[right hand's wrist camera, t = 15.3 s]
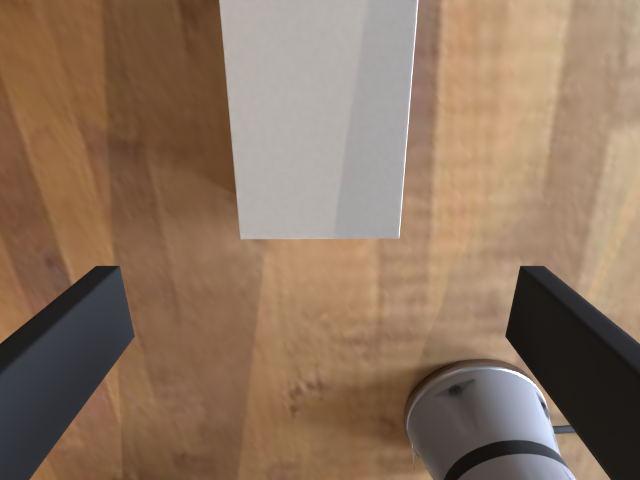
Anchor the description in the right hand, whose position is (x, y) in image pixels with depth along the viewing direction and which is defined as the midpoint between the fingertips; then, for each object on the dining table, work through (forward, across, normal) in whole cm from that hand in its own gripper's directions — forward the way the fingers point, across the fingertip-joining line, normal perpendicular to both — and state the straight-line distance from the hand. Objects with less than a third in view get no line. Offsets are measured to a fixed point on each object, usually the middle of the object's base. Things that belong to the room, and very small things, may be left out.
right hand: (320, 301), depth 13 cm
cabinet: (+22, 0, -6) cm, 23 cm away
